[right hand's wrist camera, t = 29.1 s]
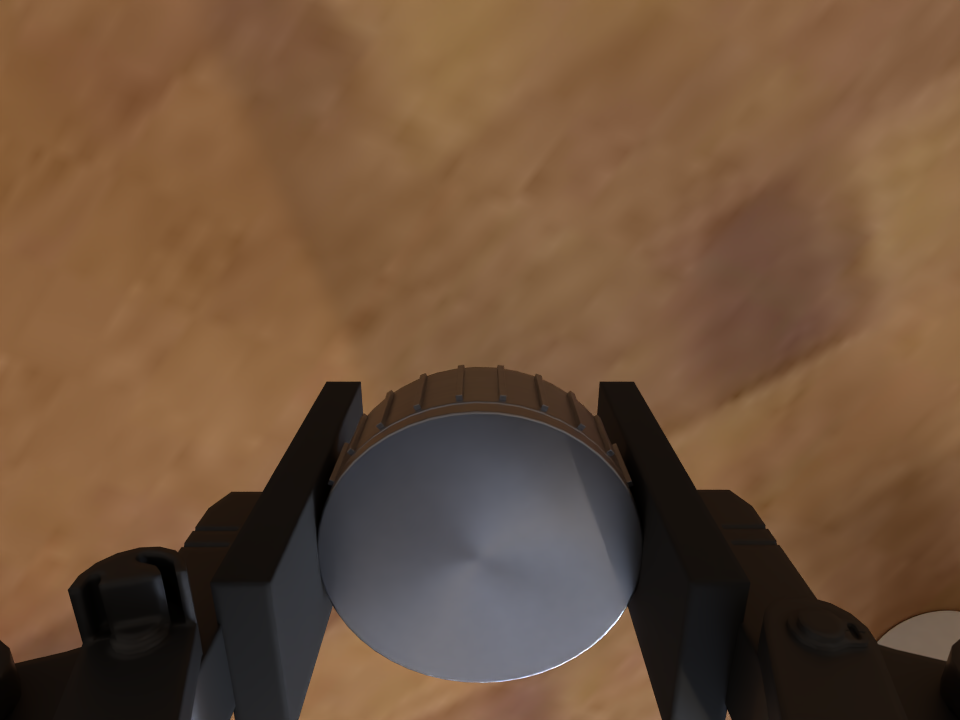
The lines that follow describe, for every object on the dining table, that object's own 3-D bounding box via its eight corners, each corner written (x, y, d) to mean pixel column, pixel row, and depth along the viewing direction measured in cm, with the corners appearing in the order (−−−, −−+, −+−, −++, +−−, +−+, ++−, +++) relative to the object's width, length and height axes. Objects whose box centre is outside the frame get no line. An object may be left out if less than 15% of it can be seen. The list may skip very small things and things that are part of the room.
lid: (485, 654, 14) (485, 733, 12) (276, 501, 12) (242, 565, 10) (684, 492, 12) (718, 555, 10) (473, 298, 11) (472, 335, 9)
